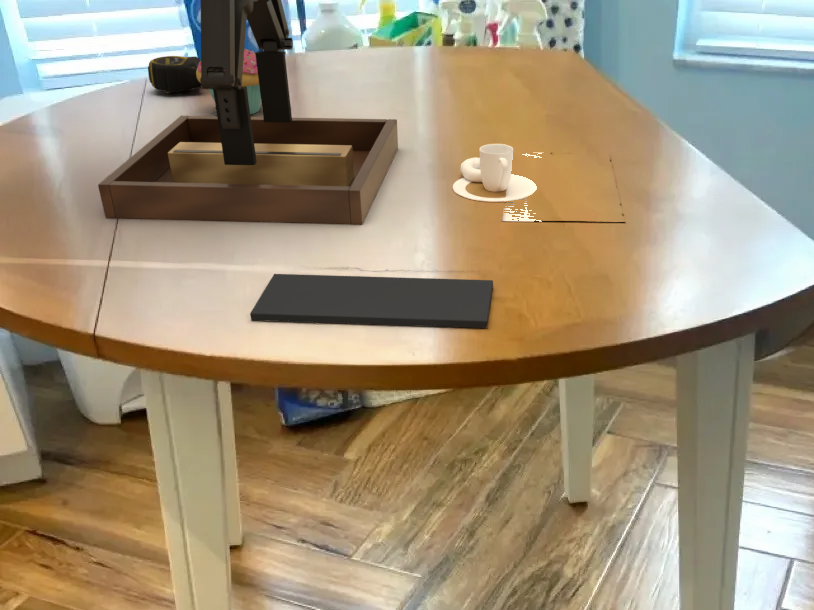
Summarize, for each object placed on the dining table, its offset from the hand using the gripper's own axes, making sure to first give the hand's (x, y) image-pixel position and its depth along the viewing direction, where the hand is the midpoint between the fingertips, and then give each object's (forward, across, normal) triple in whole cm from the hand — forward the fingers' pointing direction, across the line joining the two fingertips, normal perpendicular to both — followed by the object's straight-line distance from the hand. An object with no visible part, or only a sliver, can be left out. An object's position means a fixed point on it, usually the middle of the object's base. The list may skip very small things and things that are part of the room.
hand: (260, 141), depth 91 cm
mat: (+4, -26, -15) cm, 30 cm away
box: (+4, 0, 0) cm, 4 cm away
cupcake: (+4, +26, +10) cm, 28 cm away
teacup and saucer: (+4, +2, -24) cm, 24 cm away
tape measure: (+4, +36, +20) cm, 41 cm away
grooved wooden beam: (+4, 0, 0) cm, 4 cm away
